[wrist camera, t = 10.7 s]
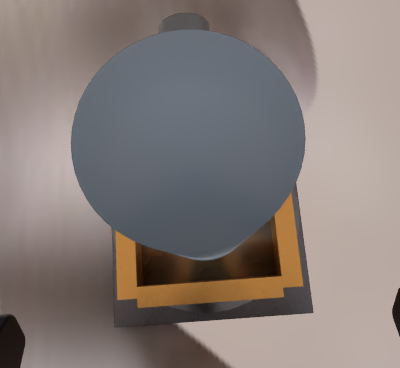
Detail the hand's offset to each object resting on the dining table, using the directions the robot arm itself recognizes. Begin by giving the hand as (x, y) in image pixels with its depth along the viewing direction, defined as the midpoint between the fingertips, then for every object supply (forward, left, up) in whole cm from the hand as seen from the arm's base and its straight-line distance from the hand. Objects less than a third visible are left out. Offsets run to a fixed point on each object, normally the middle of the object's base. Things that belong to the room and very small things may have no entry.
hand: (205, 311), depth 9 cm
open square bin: (+4, 0, -14) cm, 14 cm away
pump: (+3, 0, -10) cm, 10 cm away
